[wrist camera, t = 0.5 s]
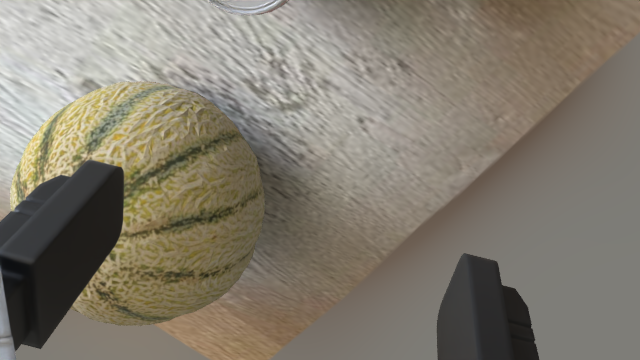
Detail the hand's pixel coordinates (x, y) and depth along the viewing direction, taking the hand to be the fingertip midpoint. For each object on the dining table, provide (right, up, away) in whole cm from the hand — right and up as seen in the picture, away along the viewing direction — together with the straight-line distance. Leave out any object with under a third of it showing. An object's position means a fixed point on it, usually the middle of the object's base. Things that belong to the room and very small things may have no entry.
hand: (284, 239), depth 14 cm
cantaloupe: (-9, +4, +29) cm, 31 cm away
